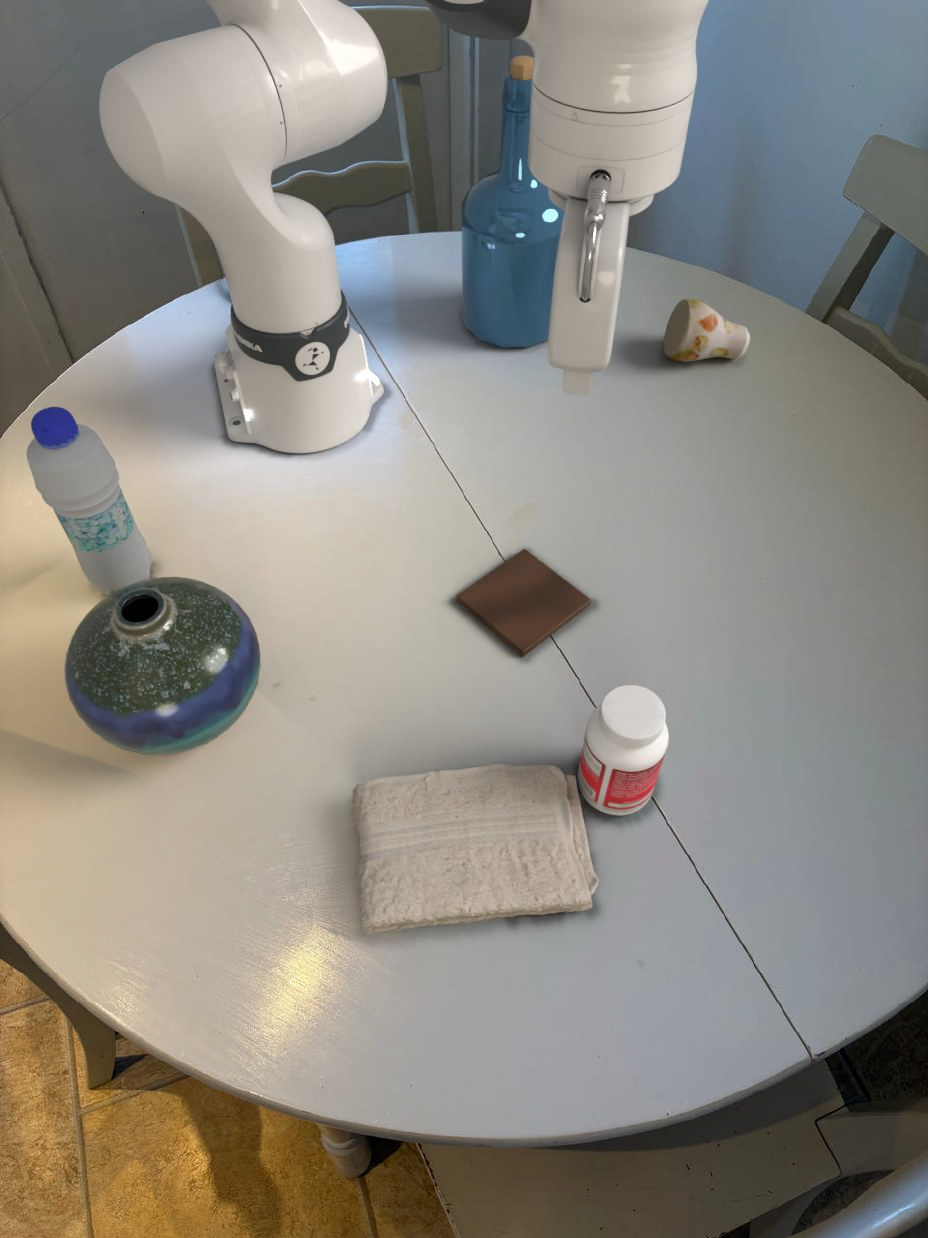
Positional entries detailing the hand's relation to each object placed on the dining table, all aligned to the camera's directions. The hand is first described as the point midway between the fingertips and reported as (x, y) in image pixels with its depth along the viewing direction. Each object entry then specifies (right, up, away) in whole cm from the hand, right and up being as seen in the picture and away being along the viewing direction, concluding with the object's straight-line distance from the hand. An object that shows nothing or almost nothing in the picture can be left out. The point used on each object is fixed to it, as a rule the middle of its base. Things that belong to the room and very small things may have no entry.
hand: (582, 345), depth 61 cm
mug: (+21, +13, +48) cm, 54 cm away
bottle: (-42, -15, +26) cm, 51 cm away
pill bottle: (+4, -32, +12) cm, 35 cm away
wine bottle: (-2, +19, +52) cm, 56 cm away
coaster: (-3, -17, +23) cm, 29 cm away
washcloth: (-8, -37, +8) cm, 39 cm away
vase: (-33, -26, +17) cm, 45 cm away
